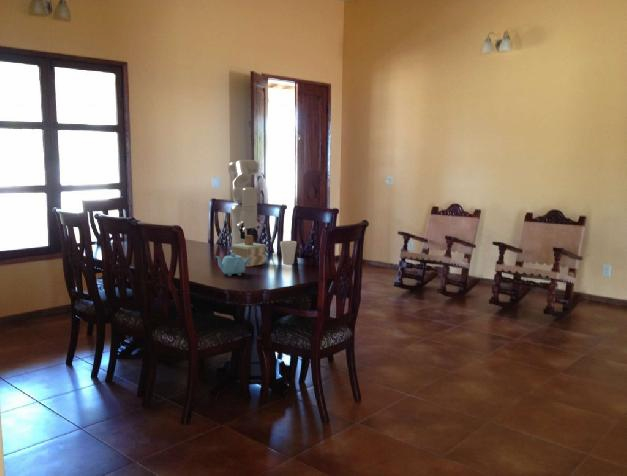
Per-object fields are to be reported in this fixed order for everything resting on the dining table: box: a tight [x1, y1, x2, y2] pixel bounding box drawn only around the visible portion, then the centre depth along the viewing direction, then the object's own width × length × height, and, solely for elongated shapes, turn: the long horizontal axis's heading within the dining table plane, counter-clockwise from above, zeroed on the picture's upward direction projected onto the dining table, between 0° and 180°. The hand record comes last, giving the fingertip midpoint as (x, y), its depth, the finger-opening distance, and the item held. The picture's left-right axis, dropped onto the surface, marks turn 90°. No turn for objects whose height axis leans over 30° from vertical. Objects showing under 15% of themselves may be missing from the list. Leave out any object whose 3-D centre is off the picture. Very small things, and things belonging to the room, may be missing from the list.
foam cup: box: [279, 240, 297, 265], centre depth 322 cm, size 10×9×13 cm
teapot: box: [214, 253, 251, 277], centre depth 289 cm, size 15×14×11 cm
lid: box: [231, 234, 267, 249], centre depth 320 cm, size 15×15×8 cm
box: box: [231, 246, 267, 267], centre depth 321 cm, size 14×14×10 cm
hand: (248, 238), depth 319 cm, fingers open, 9 cm apart
